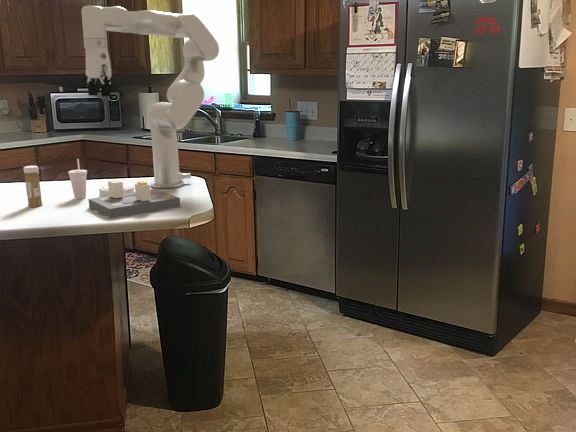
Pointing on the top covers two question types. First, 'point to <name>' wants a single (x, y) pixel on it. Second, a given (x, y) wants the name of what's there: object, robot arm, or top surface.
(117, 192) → the block
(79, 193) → the smoothie
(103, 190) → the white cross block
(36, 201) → the sprinkles bottle
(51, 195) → the top surface
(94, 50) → the robot arm
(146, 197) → the breaker
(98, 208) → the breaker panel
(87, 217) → the top surface
